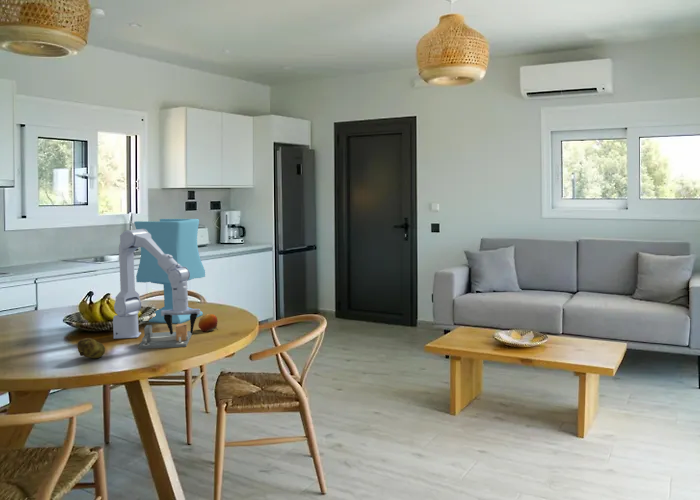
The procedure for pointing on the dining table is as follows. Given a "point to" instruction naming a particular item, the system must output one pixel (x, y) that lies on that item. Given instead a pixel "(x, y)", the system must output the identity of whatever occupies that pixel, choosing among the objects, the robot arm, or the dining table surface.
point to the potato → (90, 348)
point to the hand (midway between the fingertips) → (181, 333)
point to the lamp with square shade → (182, 245)
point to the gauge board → (164, 341)
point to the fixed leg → (148, 333)
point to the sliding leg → (181, 332)
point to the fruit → (208, 322)
